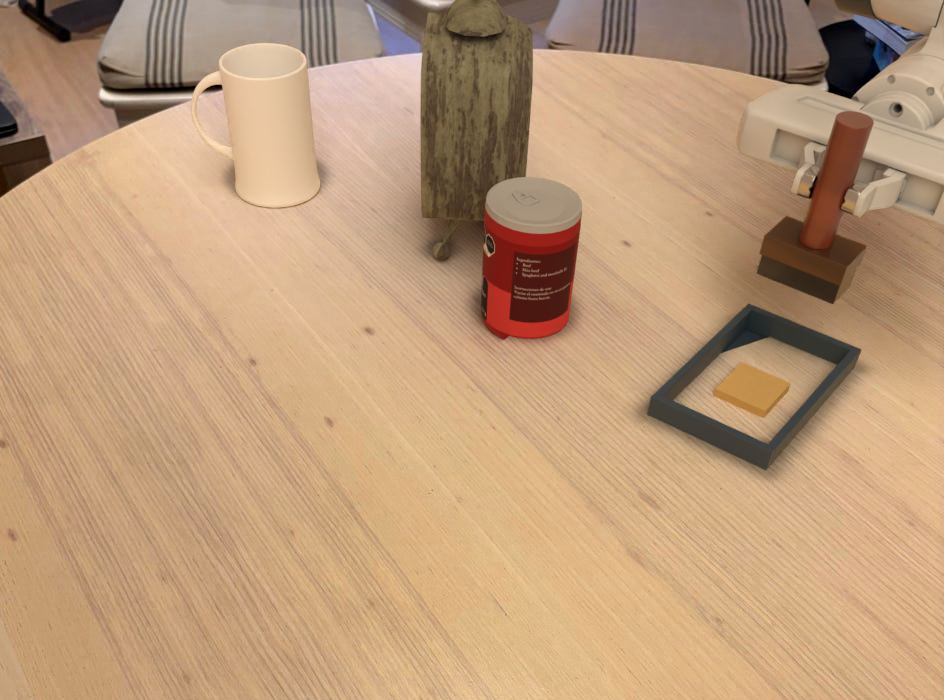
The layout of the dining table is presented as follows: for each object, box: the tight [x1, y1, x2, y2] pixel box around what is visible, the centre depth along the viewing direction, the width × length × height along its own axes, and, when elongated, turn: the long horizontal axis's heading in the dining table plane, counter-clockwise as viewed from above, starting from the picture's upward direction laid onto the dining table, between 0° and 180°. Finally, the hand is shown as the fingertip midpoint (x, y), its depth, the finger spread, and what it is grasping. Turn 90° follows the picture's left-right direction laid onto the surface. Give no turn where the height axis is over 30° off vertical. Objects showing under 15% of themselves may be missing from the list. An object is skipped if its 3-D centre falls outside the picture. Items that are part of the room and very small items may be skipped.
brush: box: [756, 111, 874, 305], centre depth 75 cm, size 4×7×12 cm, turn 53°
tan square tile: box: [713, 361, 791, 419], centre depth 82 cm, size 4×4×1 cm
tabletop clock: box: [420, 0, 534, 261], centre depth 89 cm, size 14×9×25 cm, turn 178°
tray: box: [646, 303, 862, 471], centre depth 82 cm, size 16×10×3 cm, turn 143°
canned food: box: [480, 176, 583, 340], centre depth 86 cm, size 8×8×11 cm
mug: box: [190, 42, 321, 209], centre depth 99 cm, size 12×8×12 cm
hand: (827, 195), depth 74 cm, fingers closed on brush, 2 cm apart
